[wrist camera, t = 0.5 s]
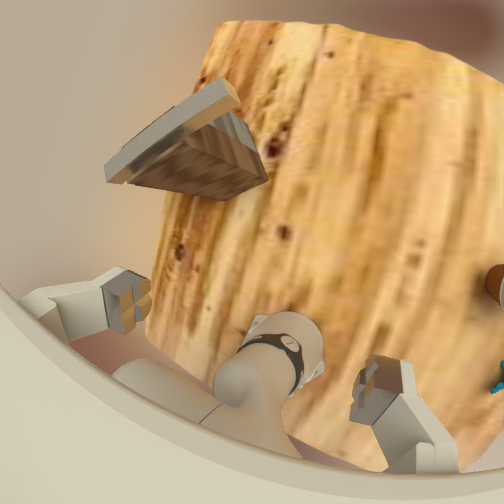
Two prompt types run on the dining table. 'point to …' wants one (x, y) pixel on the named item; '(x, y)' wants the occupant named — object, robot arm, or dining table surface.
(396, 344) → the dining table surface
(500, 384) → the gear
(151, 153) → the steel bar
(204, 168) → the stand
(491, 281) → the disposable coffee cup
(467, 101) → the dining table surface
